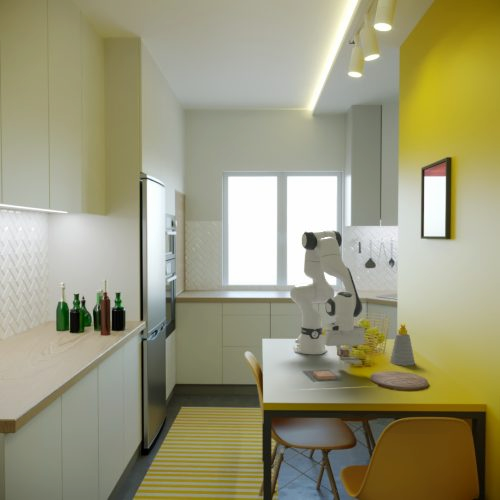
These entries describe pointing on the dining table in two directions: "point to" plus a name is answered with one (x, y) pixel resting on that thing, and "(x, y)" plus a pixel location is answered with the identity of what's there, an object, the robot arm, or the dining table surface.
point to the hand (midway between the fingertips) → (344, 354)
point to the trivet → (399, 380)
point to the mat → (314, 379)
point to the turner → (347, 356)
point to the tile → (323, 375)
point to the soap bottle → (402, 349)
